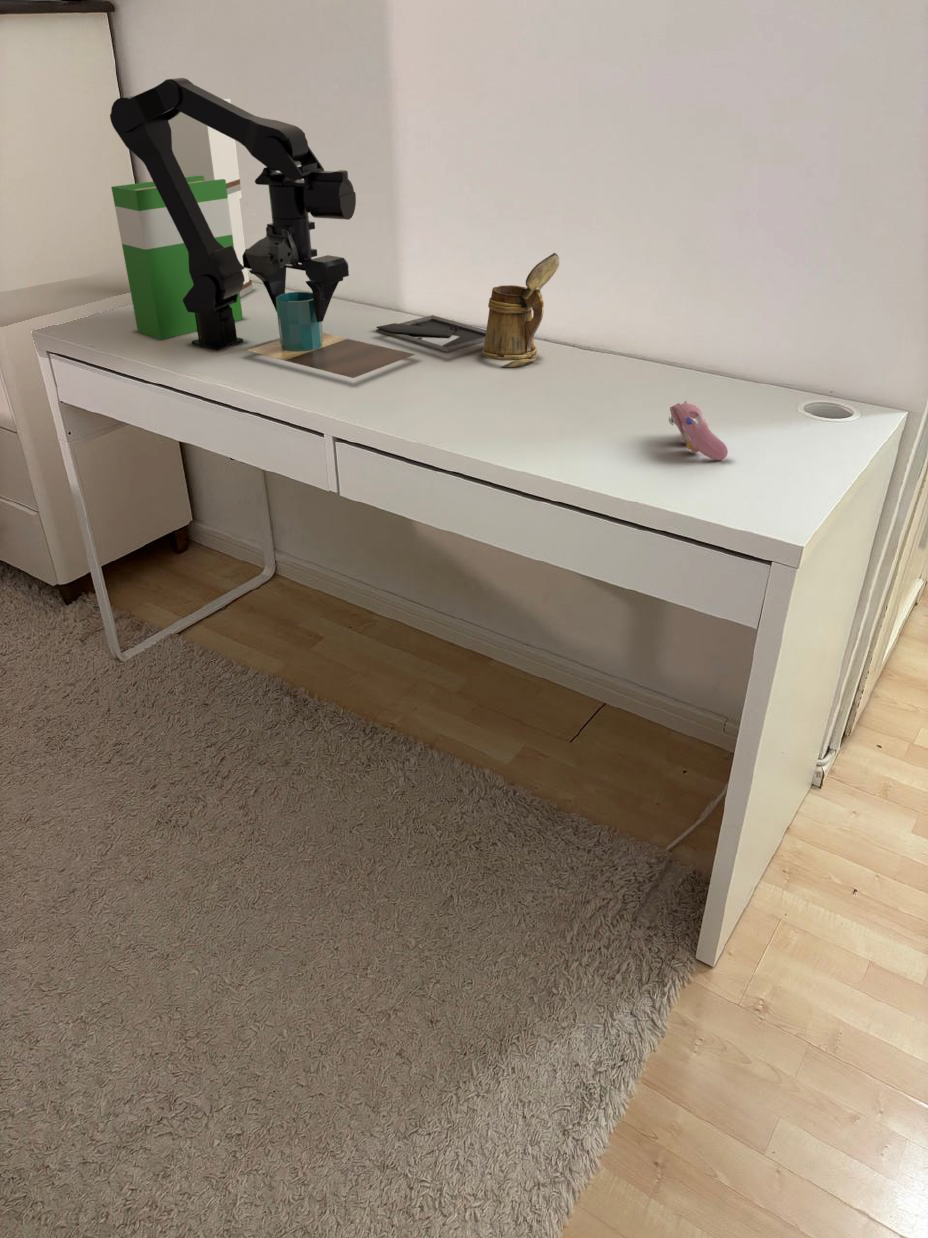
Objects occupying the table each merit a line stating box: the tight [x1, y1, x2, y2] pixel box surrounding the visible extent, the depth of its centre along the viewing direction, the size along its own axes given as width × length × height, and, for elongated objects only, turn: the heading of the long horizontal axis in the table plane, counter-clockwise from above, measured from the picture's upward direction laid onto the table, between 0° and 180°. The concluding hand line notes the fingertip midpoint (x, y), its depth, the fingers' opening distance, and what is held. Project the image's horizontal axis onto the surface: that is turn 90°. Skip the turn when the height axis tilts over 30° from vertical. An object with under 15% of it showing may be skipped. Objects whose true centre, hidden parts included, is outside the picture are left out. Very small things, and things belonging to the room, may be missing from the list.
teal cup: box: [276, 291, 324, 351], centre depth 157 cm, size 7×7×8 cm
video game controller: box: [668, 400, 729, 461], centre depth 123 cm, size 10×5×7 cm, turn 5°
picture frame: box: [376, 314, 486, 354], centre depth 165 cm, size 13×2×18 cm
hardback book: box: [111, 176, 244, 340], centre depth 168 cm, size 18×7×24 cm, turn 138°
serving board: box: [245, 333, 416, 379], centre depth 156 cm, size 24×15×1 cm, turn 53°
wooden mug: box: [481, 252, 560, 368], centre depth 150 cm, size 9×14×18 cm, turn 44°
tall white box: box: [168, 97, 254, 298], centre depth 184 cm, size 11×11×35 cm
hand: (299, 317), depth 157 cm, fingers open, 9 cm apart
